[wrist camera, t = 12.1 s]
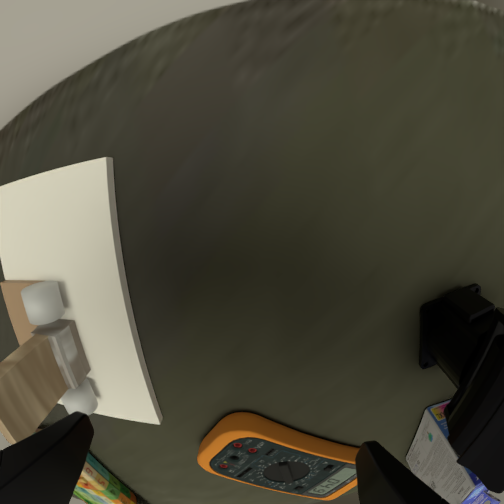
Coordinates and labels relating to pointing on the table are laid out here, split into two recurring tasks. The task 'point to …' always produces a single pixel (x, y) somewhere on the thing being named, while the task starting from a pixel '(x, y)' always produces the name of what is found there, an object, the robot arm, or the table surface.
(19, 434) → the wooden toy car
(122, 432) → the table surface
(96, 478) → the puzzle game
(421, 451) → the ink cartridge box
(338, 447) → the multimeter
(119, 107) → the table surface
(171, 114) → the table surface
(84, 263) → the board
